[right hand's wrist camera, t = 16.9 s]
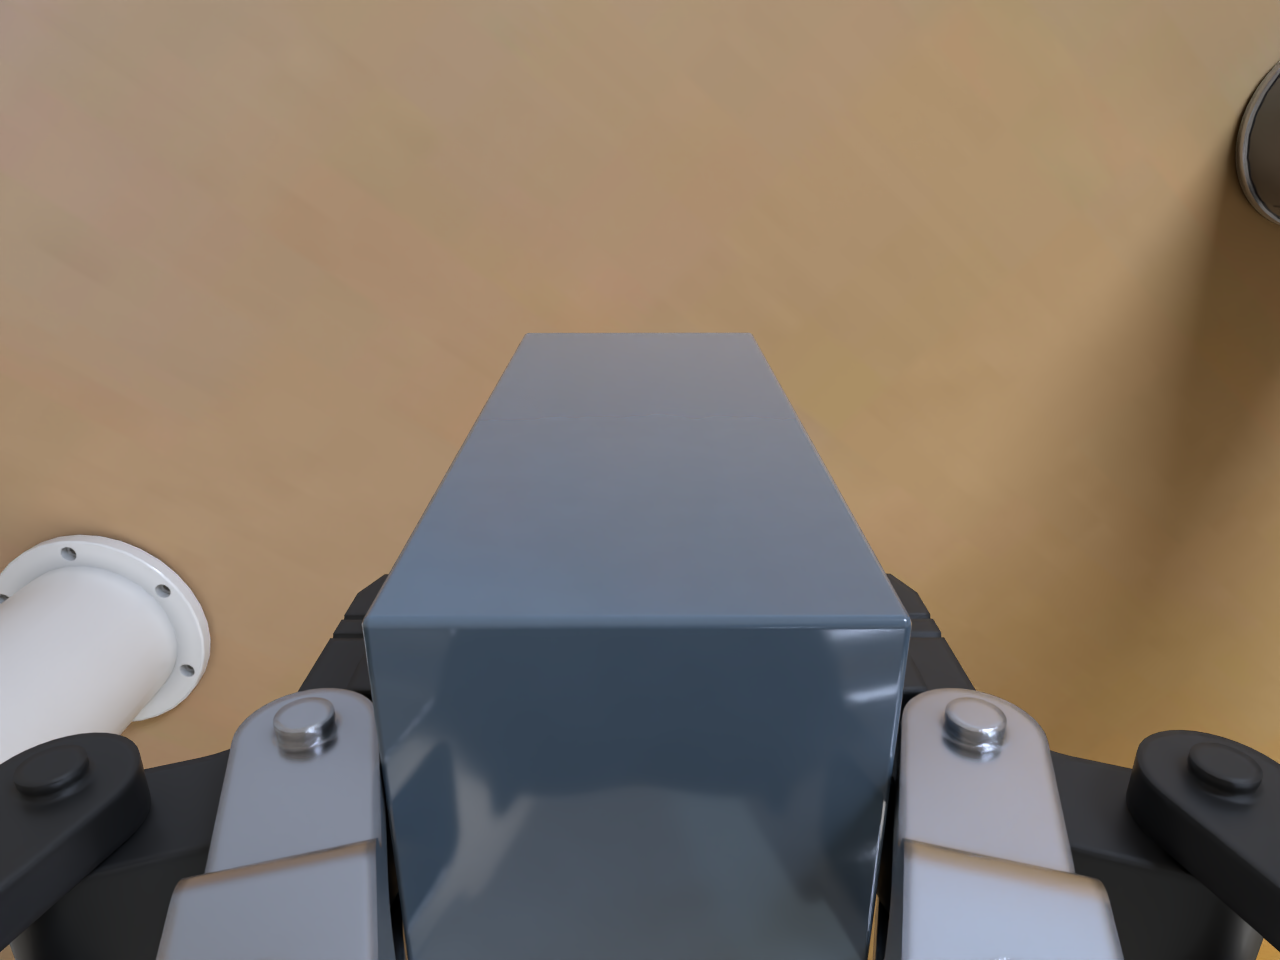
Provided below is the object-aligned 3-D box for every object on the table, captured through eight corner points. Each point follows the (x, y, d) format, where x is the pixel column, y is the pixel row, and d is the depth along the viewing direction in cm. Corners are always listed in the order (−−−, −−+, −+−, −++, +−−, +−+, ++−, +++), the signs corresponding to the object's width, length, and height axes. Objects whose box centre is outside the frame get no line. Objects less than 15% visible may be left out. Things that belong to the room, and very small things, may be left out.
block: (537, 586, 18) (422, 1091, 9) (524, 332, 16) (357, 619, 7) (740, 586, 18) (853, 1091, 9) (752, 331, 16) (916, 620, 7)
